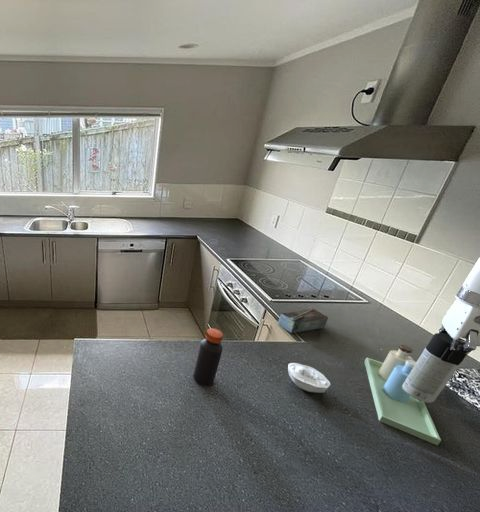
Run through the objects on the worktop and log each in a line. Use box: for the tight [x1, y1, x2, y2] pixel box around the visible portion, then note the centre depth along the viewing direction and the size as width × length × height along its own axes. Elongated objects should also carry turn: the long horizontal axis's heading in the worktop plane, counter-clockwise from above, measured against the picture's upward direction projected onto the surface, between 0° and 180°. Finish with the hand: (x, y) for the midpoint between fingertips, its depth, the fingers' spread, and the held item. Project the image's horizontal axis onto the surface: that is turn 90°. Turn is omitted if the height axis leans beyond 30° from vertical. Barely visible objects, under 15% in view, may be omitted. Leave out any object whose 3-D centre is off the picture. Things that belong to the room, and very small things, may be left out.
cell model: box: [287, 362, 331, 393], centre depth 95 cm, size 10×12×7 cm
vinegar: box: [193, 327, 224, 387], centre depth 94 cm, size 7×7×20 cm
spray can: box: [402, 332, 467, 404], centre depth 78 cm, size 7×7×20 cm
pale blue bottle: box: [382, 359, 417, 402], centre depth 91 cm, size 6×6×14 cm
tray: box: [363, 357, 442, 446], centre depth 93 cm, size 12×31×3 cm, turn 144°
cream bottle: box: [378, 344, 415, 381], centre depth 98 cm, size 6×6×14 cm
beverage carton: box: [277, 308, 329, 334], centre depth 128 cm, size 8×19×7 cm, turn 103°
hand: (444, 353), depth 76 cm, fingers closed on spray can, 6 cm apart
